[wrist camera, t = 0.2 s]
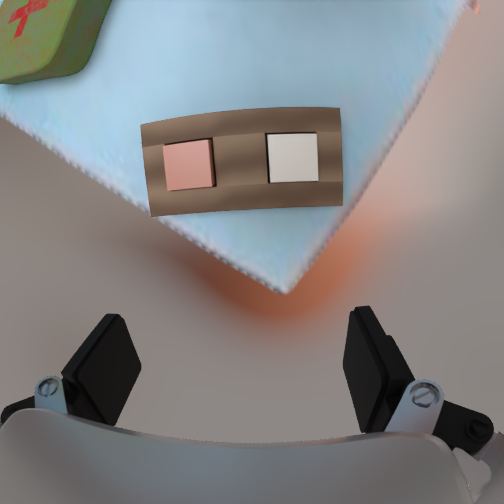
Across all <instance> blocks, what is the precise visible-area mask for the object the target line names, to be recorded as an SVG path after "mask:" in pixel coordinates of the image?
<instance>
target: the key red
mask: <svg viewBox="0 0 504 504" xmlns="http://www.w3.org/2000/svg"><path fill="white" fill-rule="evenodd" d="M163 155H164V165H165V174H166V182H167V191H172V190H181V189H190V188H201V187H212V186H213V185H214V184H216V183H217V181H216V170H215V159H214V147H213V140H201V141H193V142H186V143H179V144H172V145H166V146H163Z"/></svg>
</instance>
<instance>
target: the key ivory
mask: <svg viewBox="0 0 504 504" xmlns="http://www.w3.org/2000/svg"><path fill="white" fill-rule="evenodd" d="M267 141H268V157H269V173H270V182H296V181H318V154H317V134H275V135H267Z"/></svg>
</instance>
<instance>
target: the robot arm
mask: <svg viewBox="0 0 504 504" xmlns="http://www.w3.org/2000/svg"><path fill="white" fill-rule="evenodd" d="M343 369H344V373H345V376H346V379H347V383H348V387H349V390H350V394H351V397H352V401H353V404H354V408H355V412H356V416H357V420H358V423H359V427H360V431H361V432H362V433H364V432H365V433H366V434H361V435H353V436H345V437H338V438H330V439H320V440H311V441H296V442H278V443H232V442H213V441H199V440H190V439H180V438H173V437H165V436H159V435H153V434H148V433H142V432H136V431H132V430H127V429H123V428H118V427H114V426H115V424H116V423H117V420H118V418H119V416H120V414H121V412H122V409H123V407H124V405H125V403H126V401H127V399H128V396H129V394H130V392H131V390H132V388H133V386H134V384H135V382H136V380H137V377H138V375H139V373H140V371H141V362H140V360H139V357H138V355H137V353H136V350H135V347H134V345H133V342H132V340H131V337H130V334H129V332H128V329H127V326H126V323H125V321H124V319H123V318H122V317H121V316H120V315H119V314H106V315H105V316H104V317H103V318H102V320H101V321H100V322H99V323H98V325H97V326H96V327H95V328H94V330H93V331H92V332H91V333H90V335H89V336H88V337H87V338H86V340H85V341H84V342H83V344H82V345H81V346H80V347H79V349H78V350H77V352H76V353H75V354H74V355H73V357H72V358H71V359H70V361H69V362H68V363H67V365H66V366H65V367H64V369H63V370H62V372H61V374H62V376H63V379H62V380H61V379H60V378H59V377H57V376H47V377H45V378H43V379H42V380H40V381H39V382H38V384H37V385H36V387H35V392H34V394H35V395H34V396H32V397H29V398H27V399H24V400H21V401H19V402H16V403H13V404H11V405H9V406H7V407H6V408H4V410H3V412H2V414H1V419H0V420H1V421H0V504H504V434H502V433H501V432H498V433H497V434H496V433H495V432H494V427H493V423H492V421H491V420H490V418H489V417H487V416H486V415H484V414H482V413H479V412H476V411H473V410H470V409H467V408H465V407H462V406H459V405H456V404H454V403H451V402H448V401H445V400H444V392H443V390H442V388H441V387H440V385H438V384H437V383H436V382H434V381H431V380H428V379H418V380H415V378H414V376H413V374H412V373H411V370H410V369H409V367H408V365H407V363H406V361H405V359H404V357H403V355H402V354H401V352H400V350H399V348H398V346H397V345H396V343H395V341H394V339H393V338H392V336H390V335H386V334H385V332H384V330H383V328H382V326H381V325H380V323H379V321H378V319H377V318H376V316H375V314H374V312H373V311H372V309H371V307H370V306H360V307H355V309H354V311H351V312H350V316H349V324H348V331H347V338H346V345H345V351H344V358H343ZM467 483H468V484H467ZM468 485H469V487H468ZM469 488H470V489H469Z"/></svg>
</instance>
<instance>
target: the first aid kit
mask: <svg viewBox="0 0 504 504" xmlns="http://www.w3.org/2000/svg"><path fill="white" fill-rule="evenodd" d="M110 3H111V0H3V3H2V5H1V7H0V84H20V83H25V82H30V81H35V80H41V79H47V78H54V77H62V76H69V75H72V74H74V73H77V72H78V71H80V70H81V69H83V67H84V66H85V64H86V63H87V61H88V60H89V57H90V55H91V53H92V51H93V48H94V45H95V42H96V39H97V36H98V33H99V30H100V28H101V25H102V22H103V20H104V17H105V15H106V12H107V10H108V7H109V5H110Z"/></svg>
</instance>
